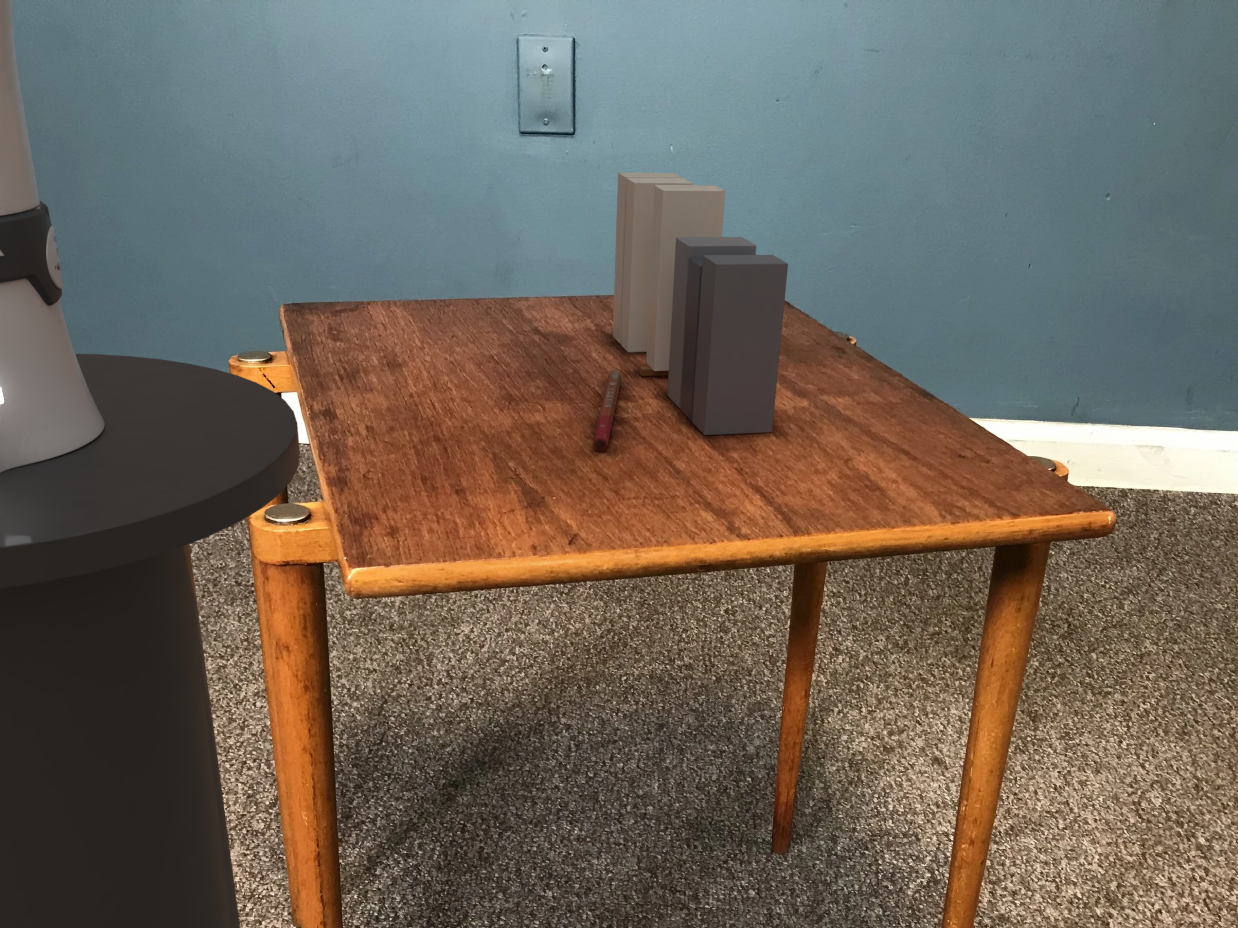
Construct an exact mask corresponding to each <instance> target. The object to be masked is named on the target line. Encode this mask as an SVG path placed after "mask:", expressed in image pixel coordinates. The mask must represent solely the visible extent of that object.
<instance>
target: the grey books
mask: <svg viewBox="0 0 1238 928" xmlns="http://www.w3.org/2000/svg"><path fill="white" fill-rule="evenodd" d="M788 270H789V262H786V261H785V260H783V259H781V258H779V257H778V256H775V255H774V254H757V245H756V244H755V243H753V242H752V241H750V240H748V239H746V238H745V237H743V236H722V237H677V238H676V248H675V266H674V285H673V303H672V321H671V340H670V358H669V375H667V376H668V379H667V397H668V398H669V399H670V400H671V401H672V402H673V403H674V404H675V406H676V407H678V409H679V410H680V411H681V412H682V413H683V414H684V416H685V417H686V418H687V419H688V420H689V421H690V422H691V423H692V424H693V425H694V426H695V427H696V429H698V430H699V431H700V432H701V433H702V435H704V436H717V435H742V434H743V435H745V434H763V433H764V434H765V433H767V434H768V433H773V427H774V417H775V416H774V415H775V407H776V406H775V405H776V397H777V384H778V373H779V365H780V364H779V363H780V355H781V344H782V332H783V321H784V310H785V302H786V301H785V300H786V290H787V282H788V281H787V280H788Z"/></svg>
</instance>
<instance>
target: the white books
mask: <svg viewBox="0 0 1238 928" xmlns="http://www.w3.org/2000/svg"><path fill="white" fill-rule="evenodd" d="M655 185H694V183H693V182H692V181H690V180H688V179H686V178H684V177H682V176H681V175H678V174H677V173H675V172H620V171H619V172H617V191H616V192H617V193H616V194H617V195H616V220H615V221H616V223H615V225H616V226H615V251H614V252H615V254H614V255H615V256H614V281H613V282H614V283H613V284H614V285H613V315H612V338H614V340H616V341H617V343H618V344H619V345H620V346H621V347H622V348H623V349H624V350H625V351H626V352H627V353H647V337H648V315H649V293H650V272H651V250H652V228H653V206H654V186H655ZM638 374H639V375H640V376H641V377H655V376H669V371H654V370H653V369H652V368H651V367H650V366H649V365H647V366H645V365H644V366H639V367H638Z"/></svg>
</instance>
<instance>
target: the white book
mask: <svg viewBox="0 0 1238 928" xmlns="http://www.w3.org/2000/svg"><path fill="white" fill-rule="evenodd" d="M725 198H726V190H725V189H723V188H721V187H720V186H718V185H716V184H714V185H713V184H693V185H655V186H654V206H653V228H652V250H651V272H650V293H649V315H648V337H647V352H646V362H645V363H646V364H647V366H650V367H651V368H652V369H653V370H654V371H669V358H670V340H671V321H672V303H673V285H674V266H675V248H676V238H677V237H723V227H724V212H725V200H726V199H725Z"/></svg>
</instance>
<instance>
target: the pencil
mask: <svg viewBox="0 0 1238 928" xmlns="http://www.w3.org/2000/svg"><path fill="white" fill-rule="evenodd" d="M621 382H622V376H621V374H620V372H619V370H618V368H614V369H613V370H611V371H610V372H609V374H608V376H607V380H606V384H605V389H604V393H603V398H602V402H601V406H600V410H599V415H598V419H597V423H596V428H595V433H594V437H593V442H592V446H593V448H594V449H595V450H596V451H597V452H604V451H605V450H606V449H607V447H608V445H609V440H610V435H611V431H612V426H613V420H614V416H615V411H616V408H617V407H616V406H617V401H618V397H619V392H620V386H621Z"/></svg>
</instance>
